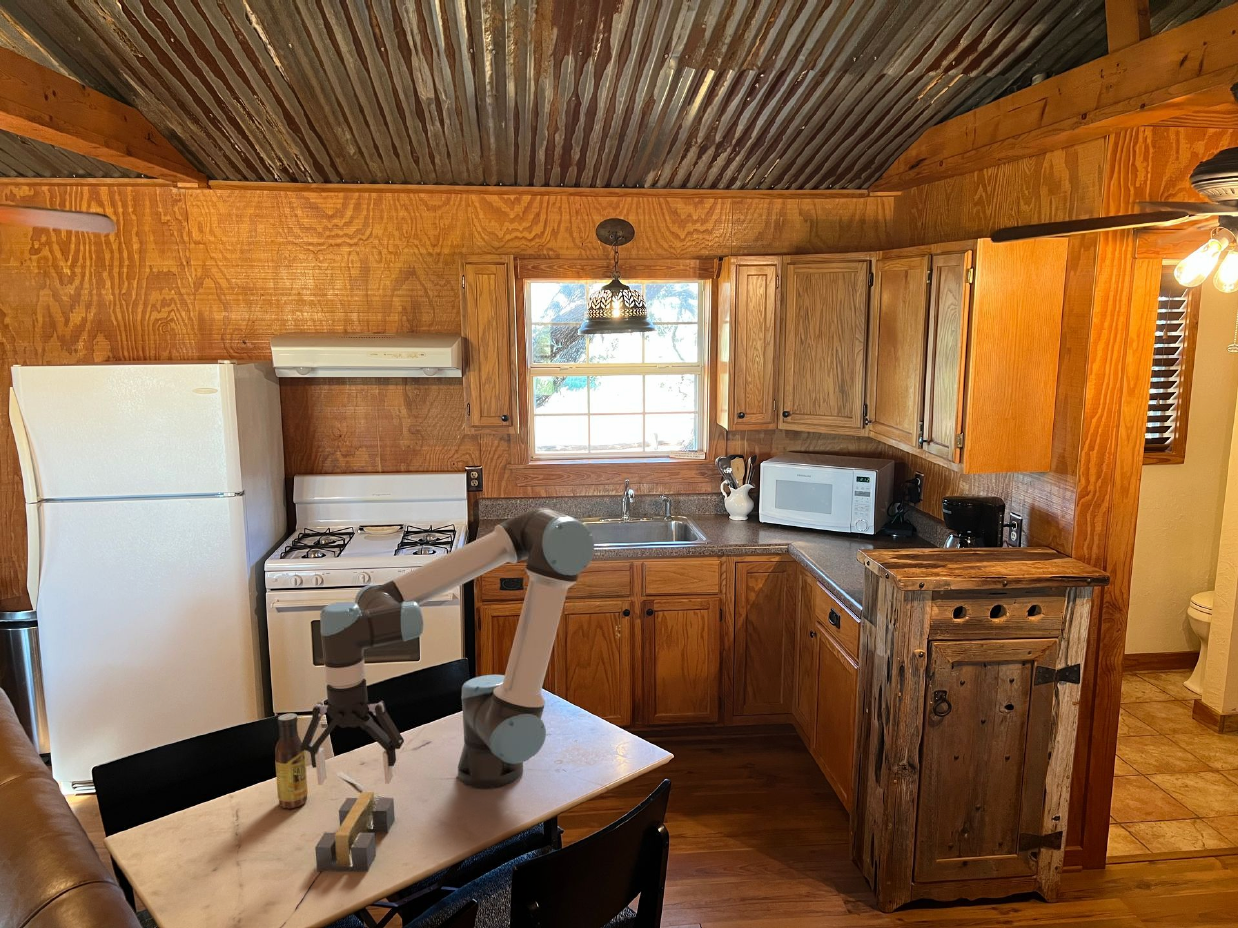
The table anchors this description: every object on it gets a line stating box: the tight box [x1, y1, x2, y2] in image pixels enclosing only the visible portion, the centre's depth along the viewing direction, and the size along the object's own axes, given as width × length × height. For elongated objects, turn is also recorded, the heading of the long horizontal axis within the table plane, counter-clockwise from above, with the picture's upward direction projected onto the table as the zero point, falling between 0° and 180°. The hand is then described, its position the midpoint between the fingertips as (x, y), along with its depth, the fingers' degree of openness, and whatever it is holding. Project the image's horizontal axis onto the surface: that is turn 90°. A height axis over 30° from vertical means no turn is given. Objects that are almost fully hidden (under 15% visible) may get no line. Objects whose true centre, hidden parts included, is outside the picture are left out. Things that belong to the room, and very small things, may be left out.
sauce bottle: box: [274, 712, 309, 809], centre depth 195 cm, size 7×6×20 cm
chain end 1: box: [338, 797, 396, 834], centre depth 186 cm, size 10×5×5 cm, turn 88°
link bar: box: [335, 791, 375, 864], centre depth 180 cm, size 2×16×6 cm, turn 178°
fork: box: [336, 771, 388, 803], centre depth 204 cm, size 3×24×2 cm, turn 44°
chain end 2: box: [314, 832, 377, 872], centre depth 174 cm, size 10×5×5 cm, turn 88°
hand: (355, 780), depth 178 cm, fingers open, 13 cm apart
